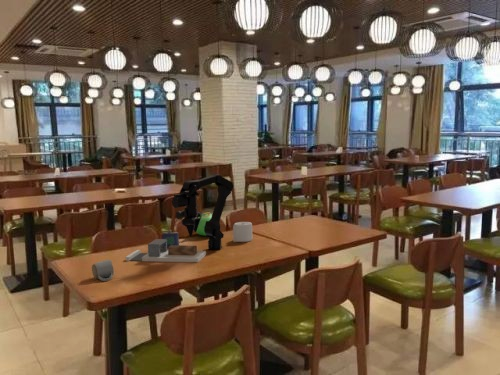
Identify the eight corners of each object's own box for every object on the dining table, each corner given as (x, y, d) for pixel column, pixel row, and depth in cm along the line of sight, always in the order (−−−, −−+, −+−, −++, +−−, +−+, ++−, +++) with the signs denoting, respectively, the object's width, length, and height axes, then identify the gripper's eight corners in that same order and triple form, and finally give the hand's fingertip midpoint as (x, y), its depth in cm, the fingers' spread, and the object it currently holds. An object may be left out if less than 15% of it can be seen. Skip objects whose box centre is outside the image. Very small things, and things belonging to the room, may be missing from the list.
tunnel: (167, 251, 237) (166, 239, 236) (159, 256, 226) (158, 244, 226) (156, 250, 238) (155, 239, 237) (148, 256, 227) (147, 244, 227)
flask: (179, 247, 252) (178, 228, 251) (178, 248, 249) (177, 230, 248) (163, 247, 253) (162, 229, 251) (162, 249, 250) (161, 230, 248)
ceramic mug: (91, 277, 203) (90, 261, 202) (109, 273, 208) (108, 257, 207) (98, 283, 195) (97, 266, 194) (117, 279, 199) (115, 263, 198)
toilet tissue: (254, 237, 268) (253, 221, 267) (250, 242, 257) (249, 225, 256) (237, 237, 271) (236, 221, 269) (232, 242, 259) (231, 225, 258)
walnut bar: (197, 253, 231) (196, 245, 230) (194, 255, 226) (193, 247, 226) (171, 252, 233) (171, 245, 233) (168, 255, 229) (167, 247, 229)
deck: (206, 254, 235) (205, 250, 235) (198, 262, 221) (198, 258, 221) (137, 253, 242) (137, 249, 242) (125, 260, 228) (125, 257, 228)
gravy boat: (219, 237, 273) (218, 213, 271) (192, 239, 270) (191, 215, 268) (217, 231, 290) (216, 209, 289) (191, 233, 288) (190, 210, 286)
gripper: (181, 202, 243) (183, 230, 245) (170, 208, 224) (173, 238, 226) (201, 201, 241) (203, 229, 243) (192, 208, 223) (194, 238, 225)
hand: (193, 233), depth 234 cm, fingers open, 9 cm apart
